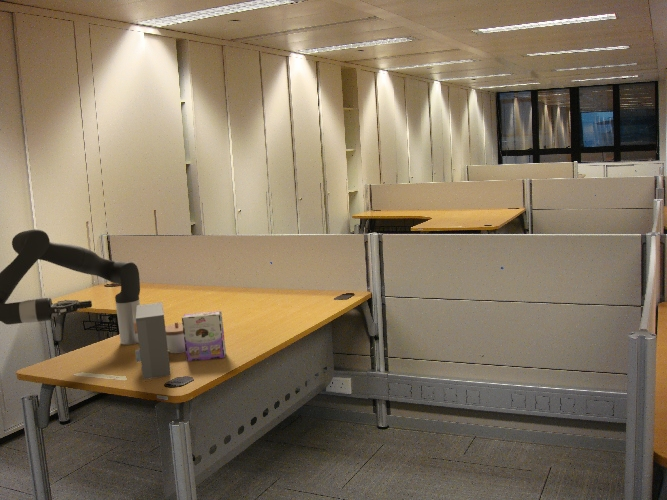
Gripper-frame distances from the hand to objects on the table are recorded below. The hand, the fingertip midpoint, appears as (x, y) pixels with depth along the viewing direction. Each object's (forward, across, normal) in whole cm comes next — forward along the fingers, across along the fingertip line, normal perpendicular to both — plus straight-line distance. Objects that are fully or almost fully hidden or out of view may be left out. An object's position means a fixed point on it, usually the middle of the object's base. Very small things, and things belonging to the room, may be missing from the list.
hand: (91, 303), depth 223 cm
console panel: (+19, +2, +26) cm, 32 cm away
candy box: (+36, +6, +26) cm, 45 cm away
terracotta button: (+15, +8, +14) cm, 22 cm away
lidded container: (+27, +20, +26) cm, 43 cm away
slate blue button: (+15, -4, +21) cm, 26 cm away
